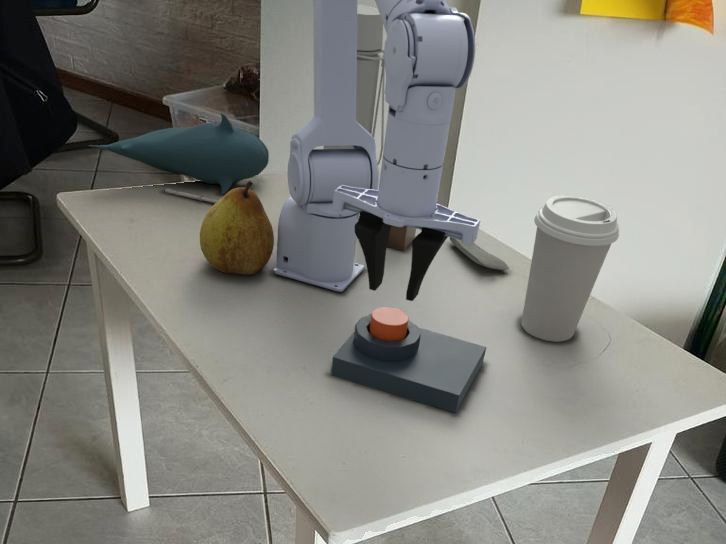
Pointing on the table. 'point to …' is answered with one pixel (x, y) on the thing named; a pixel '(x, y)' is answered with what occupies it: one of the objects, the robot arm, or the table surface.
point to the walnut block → (401, 237)
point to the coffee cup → (566, 263)
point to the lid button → (389, 324)
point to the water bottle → (368, 70)
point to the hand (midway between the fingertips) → (393, 291)
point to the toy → (199, 152)
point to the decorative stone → (480, 255)
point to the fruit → (237, 233)
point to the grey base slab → (411, 364)
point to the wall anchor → (190, 196)
